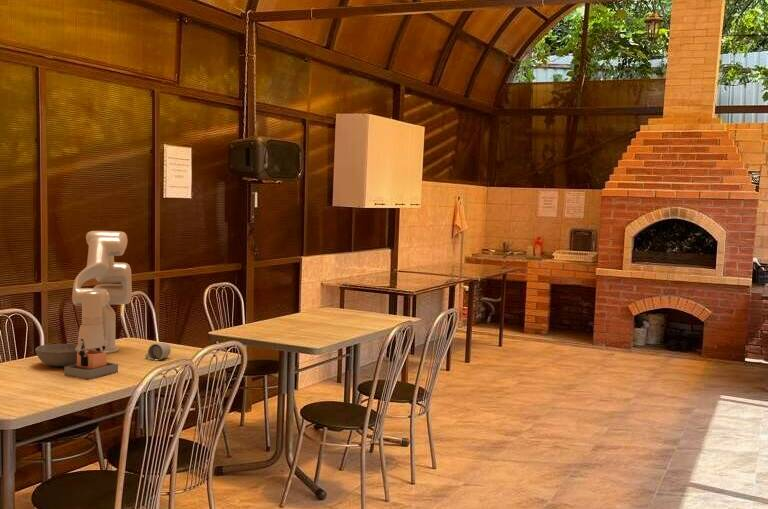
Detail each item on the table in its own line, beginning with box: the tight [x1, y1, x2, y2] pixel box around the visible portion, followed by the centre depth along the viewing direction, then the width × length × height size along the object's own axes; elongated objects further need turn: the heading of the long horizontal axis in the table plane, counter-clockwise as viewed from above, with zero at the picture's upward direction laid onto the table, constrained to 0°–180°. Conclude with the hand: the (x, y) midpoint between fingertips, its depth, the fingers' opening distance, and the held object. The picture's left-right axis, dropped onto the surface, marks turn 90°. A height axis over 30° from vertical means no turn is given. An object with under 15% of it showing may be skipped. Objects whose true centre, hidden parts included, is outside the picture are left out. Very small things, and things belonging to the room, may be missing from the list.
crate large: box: [63, 362, 119, 380], centre depth 305 cm, size 13×15×4 cm
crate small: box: [76, 350, 108, 369], centre depth 305 cm, size 9×7×6 cm
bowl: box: [34, 343, 78, 367], centre depth 319 cm, size 21×21×8 cm
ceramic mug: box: [144, 342, 172, 361], centre depth 338 cm, size 11×8×8 cm
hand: (91, 364), depth 305 cm, fingers closed on crate small, 7 cm apart
